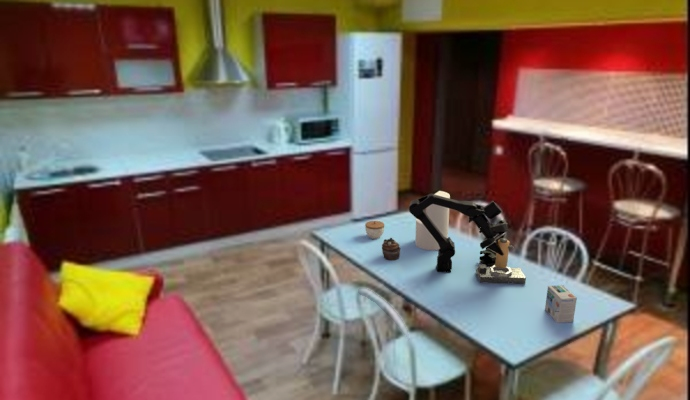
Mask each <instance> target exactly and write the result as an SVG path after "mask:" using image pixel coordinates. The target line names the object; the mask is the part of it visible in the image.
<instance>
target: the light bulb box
mask: <svg viewBox="0 0 690 400" xmlns="http://www.w3.org/2000/svg"><path fill="white" fill-rule="evenodd" d="M545 299H546V300H545V305H544V309H545V311H546V312H547V313H548V314H549V315H550V316H551V318H552V319H553V320H554V321H555V322H556V323H557V324H560V323H563V324H564V323H574V320H575V319H574V318H575V312H576V305H577V299H578V297H577V296H576V295H574V293H573V292H571V291H570V289H568V288H567V287H566V286H565V285H562V284H561V285H560V284H559V285H548V286H547V292H546V298H545Z"/></svg>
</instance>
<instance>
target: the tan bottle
mask: <svg viewBox="0 0 690 400" xmlns="http://www.w3.org/2000/svg"><path fill="white" fill-rule="evenodd" d="M498 245H499V247H500V248H501V250H502V252H503V253H504V255H503V256H501V255H500V254H498V253H496V261H495V266H497V267H499V268H506V267H508V261H509V260H508V259H509V252H510V250H514V248H515V247H514V246H513V245H510V240H508V238H506V237H505V238H500V239H499V240H498Z"/></svg>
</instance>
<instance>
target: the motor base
mask: <svg viewBox="0 0 690 400" xmlns="http://www.w3.org/2000/svg"><path fill="white" fill-rule="evenodd" d="M477 265H478V266H476V269H475V270H476V272H475V273H476V276H477V279H478V280H479V283H480V284H515V285H518V284H519V285H520V284H521V285H525V284H526V278H527V277H526V275H525V274H524V273H523V270H522V269H521V267H508V266H507V267H506V268H499V267H497V266H495V265H494V266H492V267H487V266H485V264H482V263H478V264H477Z"/></svg>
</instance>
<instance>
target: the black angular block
mask: <svg viewBox="0 0 690 400" xmlns="http://www.w3.org/2000/svg"><path fill="white" fill-rule="evenodd" d="M479 255H481V256H479V264H485V266H486V267H492V266H494V265H495V261H496V252H494V251H492V250H490V249H488V248H486V247H485V250H484V249H483V250H480V252H479Z"/></svg>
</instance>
